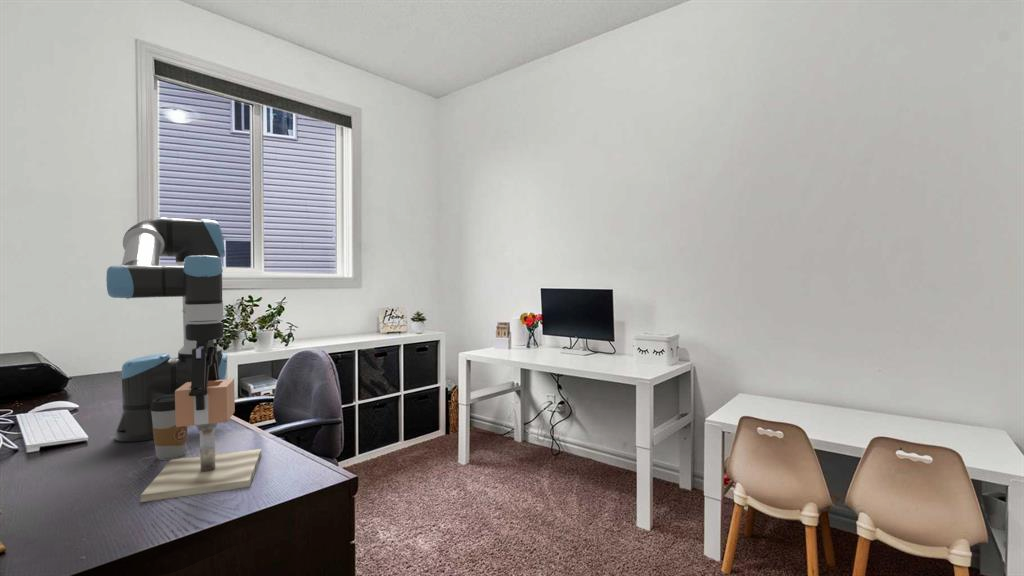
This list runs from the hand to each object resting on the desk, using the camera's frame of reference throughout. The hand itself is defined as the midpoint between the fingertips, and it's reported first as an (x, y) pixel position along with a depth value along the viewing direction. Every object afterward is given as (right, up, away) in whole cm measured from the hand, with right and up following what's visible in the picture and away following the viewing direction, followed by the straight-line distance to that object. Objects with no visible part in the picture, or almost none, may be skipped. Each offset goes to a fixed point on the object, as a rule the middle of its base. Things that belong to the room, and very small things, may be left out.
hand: (206, 417), depth 117 cm
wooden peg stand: (0, -14, 0) cm, 14 cm away
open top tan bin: (0, 0, 0) cm, 0 cm away
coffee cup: (-18, -14, +14) cm, 26 cm away
